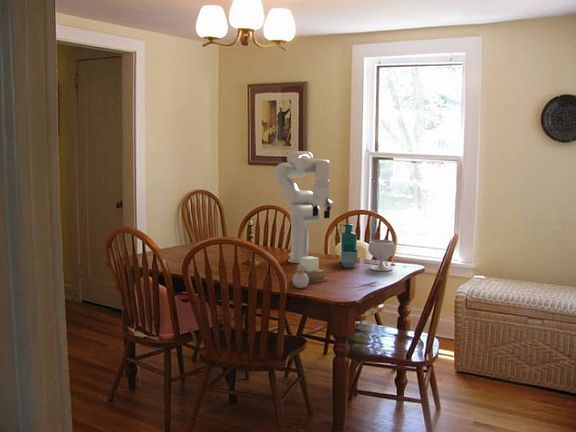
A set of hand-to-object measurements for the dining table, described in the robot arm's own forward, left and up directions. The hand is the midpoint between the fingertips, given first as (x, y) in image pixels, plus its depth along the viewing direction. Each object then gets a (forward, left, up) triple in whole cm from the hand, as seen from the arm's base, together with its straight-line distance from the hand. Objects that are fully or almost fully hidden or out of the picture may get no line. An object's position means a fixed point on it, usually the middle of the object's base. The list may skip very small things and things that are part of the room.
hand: (320, 217), depth 318 cm
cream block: (+17, -19, -23) cm, 34 cm away
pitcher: (-8, +26, -28) cm, 39 cm away
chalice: (+16, +29, -28) cm, 43 cm away
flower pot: (+2, +19, -28) cm, 34 cm away
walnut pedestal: (+17, -19, -28) cm, 38 cm away
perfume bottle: (+28, -32, -28) cm, 51 cm away
